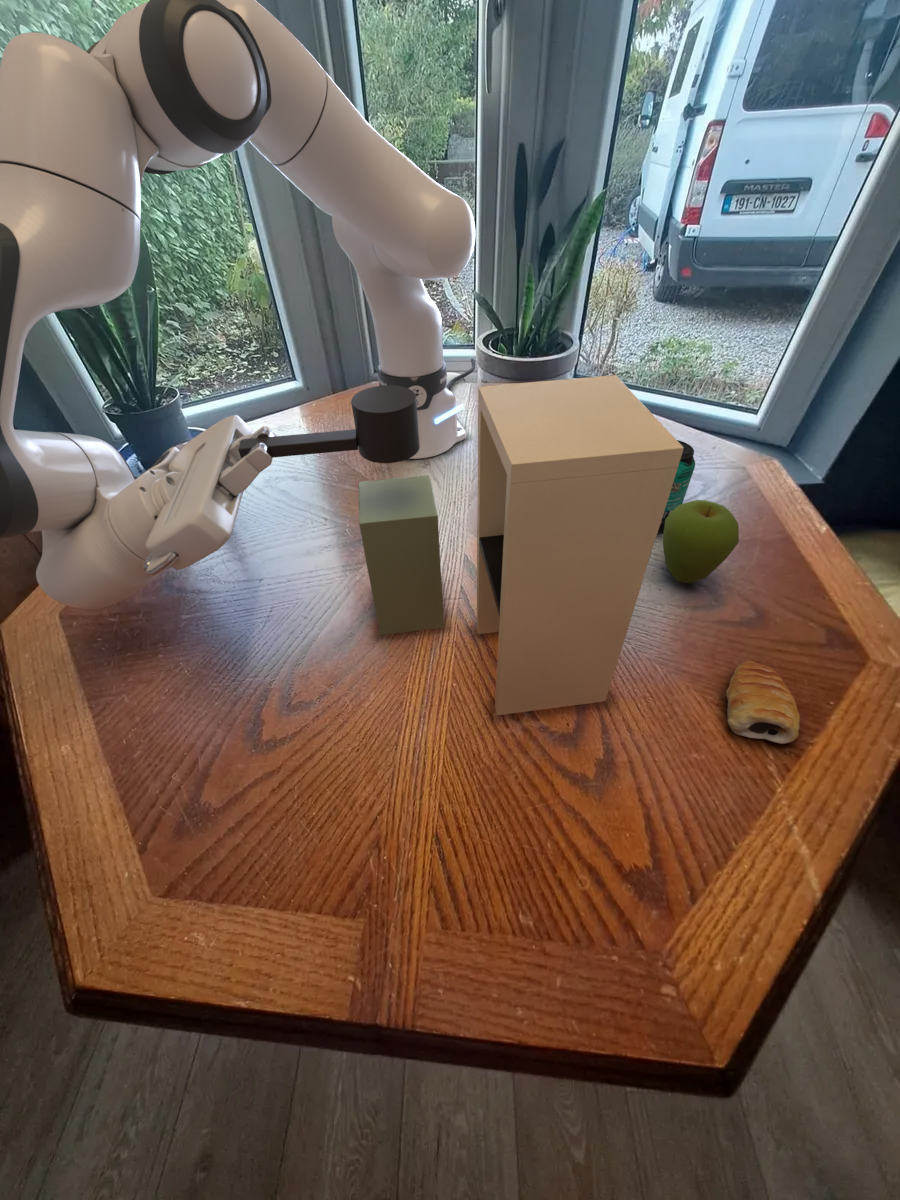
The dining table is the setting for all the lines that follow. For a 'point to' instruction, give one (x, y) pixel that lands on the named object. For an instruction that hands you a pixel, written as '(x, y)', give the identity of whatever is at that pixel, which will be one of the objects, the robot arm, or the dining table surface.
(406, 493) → the rectangular block
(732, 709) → the pastry
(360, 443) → the measuring cup
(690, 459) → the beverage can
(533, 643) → the tall cream box
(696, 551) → the apple
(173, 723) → the dining table surface
